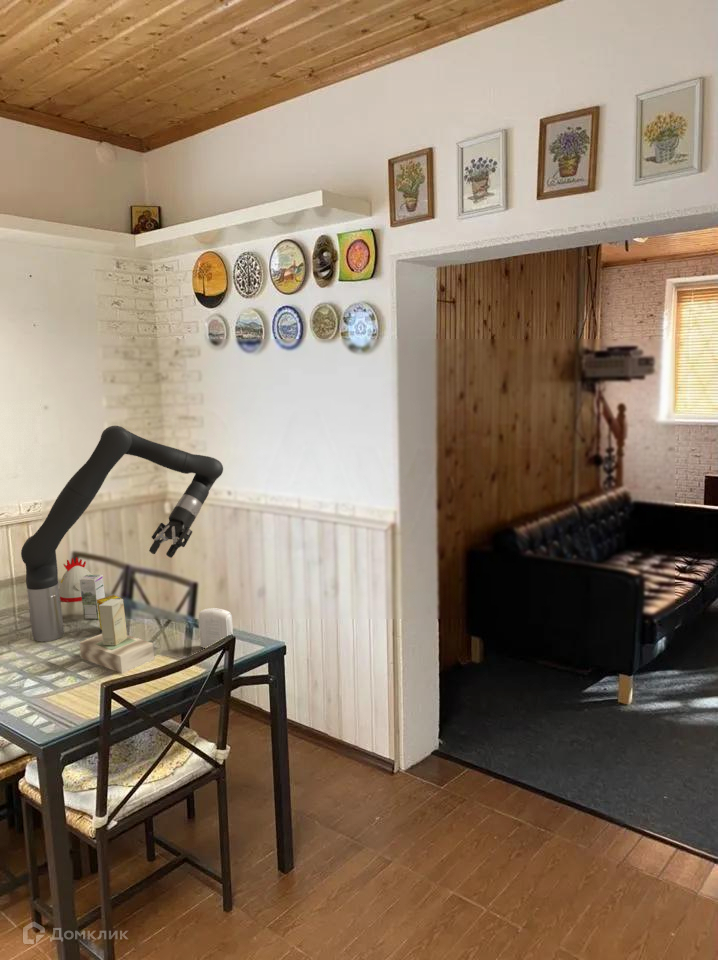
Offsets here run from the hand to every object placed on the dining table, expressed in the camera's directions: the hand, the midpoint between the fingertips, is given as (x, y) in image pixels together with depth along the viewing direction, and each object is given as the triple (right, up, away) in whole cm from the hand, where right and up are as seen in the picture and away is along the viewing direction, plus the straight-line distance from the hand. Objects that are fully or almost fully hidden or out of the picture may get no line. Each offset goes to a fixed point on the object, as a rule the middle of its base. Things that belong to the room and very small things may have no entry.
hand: (160, 554), depth 227 cm
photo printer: (+20, -27, -10) cm, 35 cm away
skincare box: (-9, -24, -15) cm, 30 cm away
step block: (-9, -29, -15) cm, 34 cm away
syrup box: (-28, -24, +22) cm, 43 cm away
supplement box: (-18, -26, +8) cm, 32 cm away
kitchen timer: (-43, -21, +46) cm, 66 cm away
